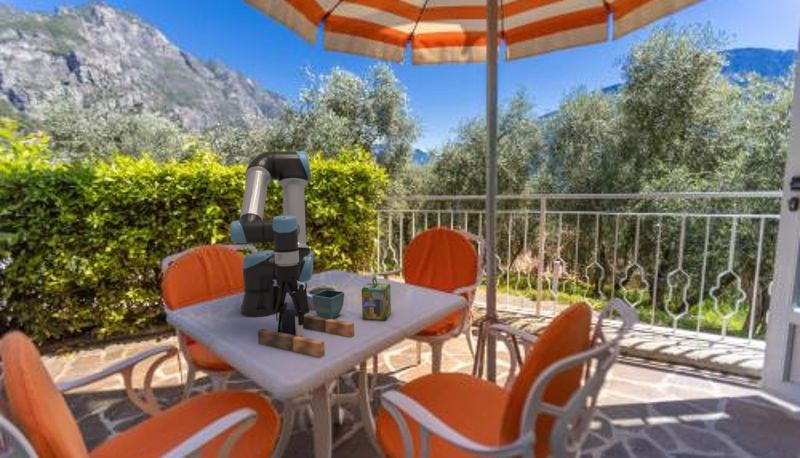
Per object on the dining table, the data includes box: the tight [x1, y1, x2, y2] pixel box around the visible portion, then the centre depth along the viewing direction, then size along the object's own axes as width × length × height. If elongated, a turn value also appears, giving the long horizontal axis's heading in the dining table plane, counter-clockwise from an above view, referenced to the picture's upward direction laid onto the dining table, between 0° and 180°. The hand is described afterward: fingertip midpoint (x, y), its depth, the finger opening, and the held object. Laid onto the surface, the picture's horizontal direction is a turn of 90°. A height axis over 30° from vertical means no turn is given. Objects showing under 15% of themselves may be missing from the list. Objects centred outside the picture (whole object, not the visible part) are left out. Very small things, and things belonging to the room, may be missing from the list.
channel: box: [257, 314, 355, 358], centre depth 125 cm, size 24×18×4 cm
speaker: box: [277, 302, 297, 336], centre depth 128 cm, size 8×6×10 cm
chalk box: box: [361, 275, 392, 321], centre depth 145 cm, size 9×9×15 cm
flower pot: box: [311, 289, 345, 320], centre depth 146 cm, size 9×9×9 cm
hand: (290, 332), depth 128 cm, fingers closed on speaker, 7 cm apart
